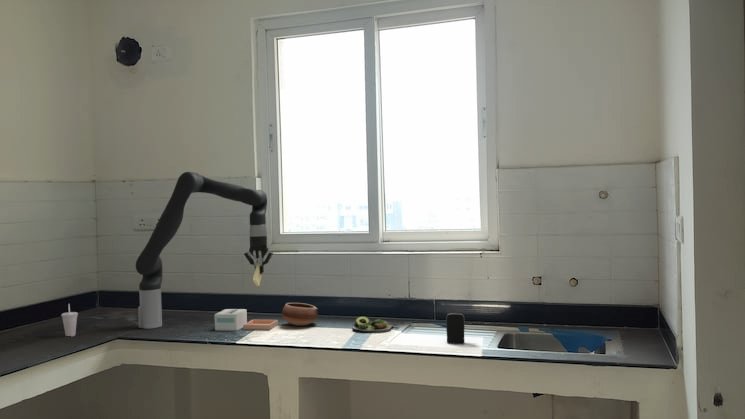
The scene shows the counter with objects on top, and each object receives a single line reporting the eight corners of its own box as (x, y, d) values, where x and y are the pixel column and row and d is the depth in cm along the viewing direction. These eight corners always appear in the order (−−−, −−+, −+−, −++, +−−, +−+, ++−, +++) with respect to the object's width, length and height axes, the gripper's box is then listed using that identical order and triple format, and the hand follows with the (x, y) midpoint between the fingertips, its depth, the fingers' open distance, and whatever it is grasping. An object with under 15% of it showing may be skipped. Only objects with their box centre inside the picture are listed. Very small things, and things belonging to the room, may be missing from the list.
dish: (243, 329, 264) (243, 324, 264) (252, 324, 275) (252, 319, 275) (269, 330, 262) (269, 325, 262) (277, 324, 273) (277, 319, 273)
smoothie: (60, 338, 257) (59, 305, 256) (64, 334, 263) (62, 302, 263) (77, 336, 259) (75, 304, 258) (80, 333, 265) (78, 301, 264)
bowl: (321, 327, 266) (321, 304, 266) (287, 330, 260) (286, 307, 260) (312, 320, 281) (311, 298, 280) (278, 323, 275) (278, 301, 275)
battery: (465, 341, 234) (464, 312, 234) (464, 344, 230) (464, 314, 230) (447, 341, 236) (446, 312, 235) (446, 343, 232) (445, 314, 232)
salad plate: (399, 324, 269) (398, 314, 269) (396, 333, 251) (396, 322, 251) (355, 324, 271) (355, 314, 271) (350, 334, 253) (350, 323, 253)
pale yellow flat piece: (252, 280, 262) (257, 262, 267) (256, 285, 266) (260, 268, 271) (255, 280, 261) (260, 262, 267) (259, 285, 265) (263, 268, 271)
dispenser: (214, 330, 264) (214, 313, 264) (226, 324, 276) (225, 308, 276) (236, 330, 263) (236, 313, 262) (246, 324, 275) (246, 308, 274)
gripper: (240, 235, 265) (241, 275, 265) (269, 235, 262) (271, 275, 263) (246, 234, 272) (247, 273, 272) (275, 234, 270) (276, 272, 270)
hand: (259, 274), depth 268 cm, fingers closed on pale yellow flat piece, 1 cm apart
